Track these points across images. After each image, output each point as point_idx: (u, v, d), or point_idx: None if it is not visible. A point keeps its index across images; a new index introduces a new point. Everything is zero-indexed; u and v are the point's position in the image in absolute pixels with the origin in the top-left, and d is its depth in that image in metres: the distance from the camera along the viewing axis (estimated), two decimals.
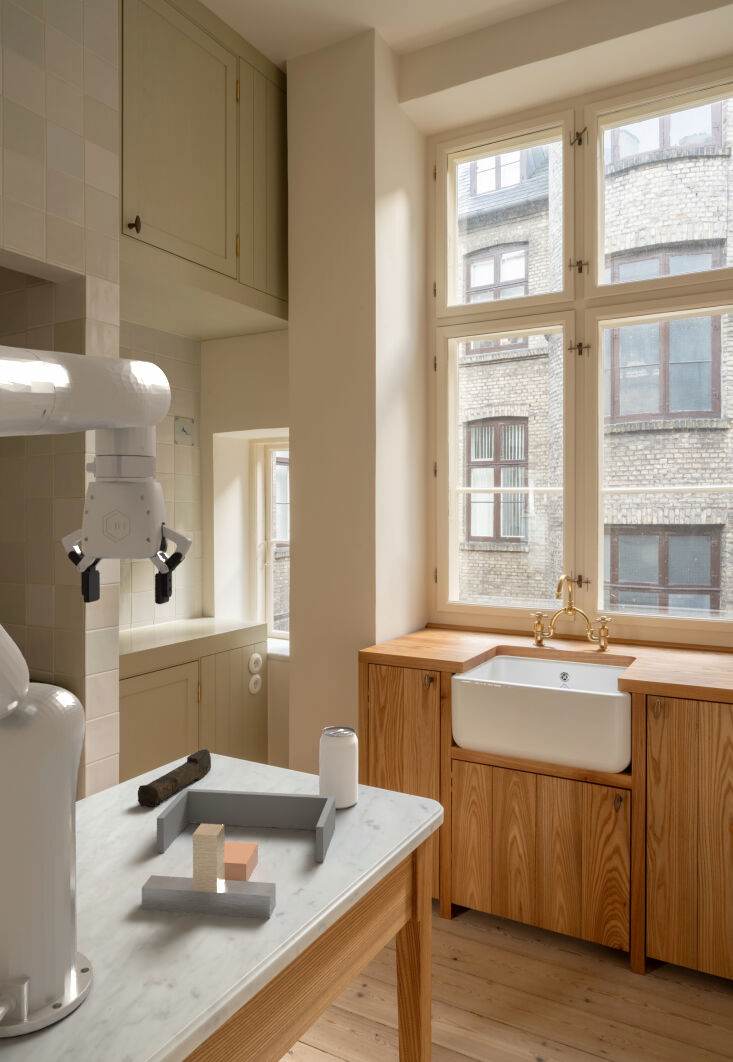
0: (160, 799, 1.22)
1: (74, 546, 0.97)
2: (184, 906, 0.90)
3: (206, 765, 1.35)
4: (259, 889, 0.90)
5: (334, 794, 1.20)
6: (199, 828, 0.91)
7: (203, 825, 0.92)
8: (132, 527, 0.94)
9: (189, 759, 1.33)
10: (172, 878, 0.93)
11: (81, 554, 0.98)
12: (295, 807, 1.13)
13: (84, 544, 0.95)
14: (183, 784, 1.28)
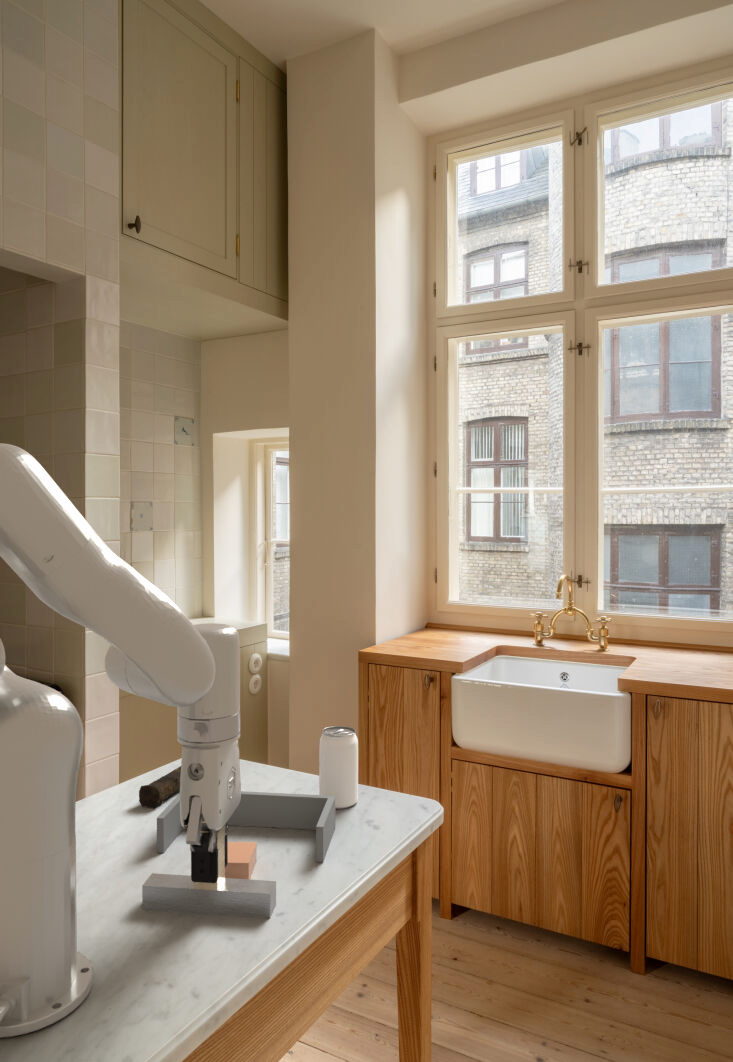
0: (161, 799, 1.22)
1: (199, 833, 0.86)
2: (185, 904, 0.90)
3: None
4: (259, 887, 0.90)
5: (334, 794, 1.20)
6: None
7: None
8: (236, 778, 0.92)
9: None
10: (173, 876, 0.93)
11: None
12: (295, 807, 1.13)
13: (219, 818, 0.86)
14: None
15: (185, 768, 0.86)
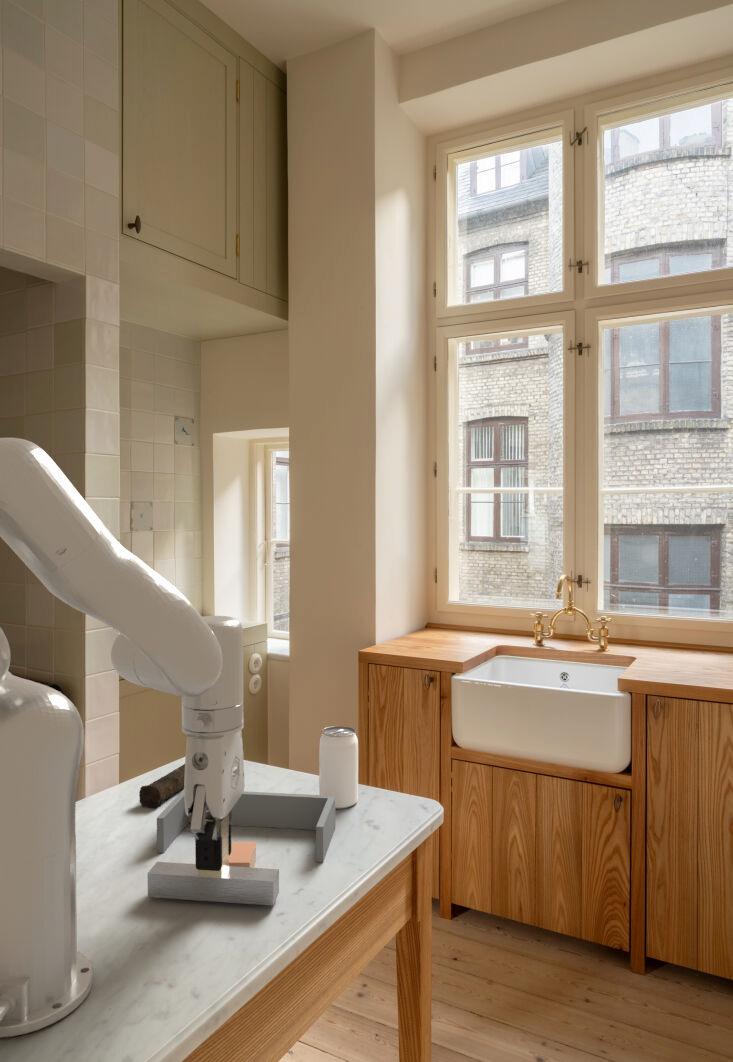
0: (162, 799, 1.22)
1: None
2: (189, 891, 0.91)
3: None
4: (263, 875, 0.92)
5: (334, 794, 1.20)
6: None
7: None
8: (239, 768, 0.94)
9: None
10: (177, 864, 0.94)
11: None
12: (295, 807, 1.13)
13: (222, 807, 0.87)
14: None
15: (189, 757, 0.88)
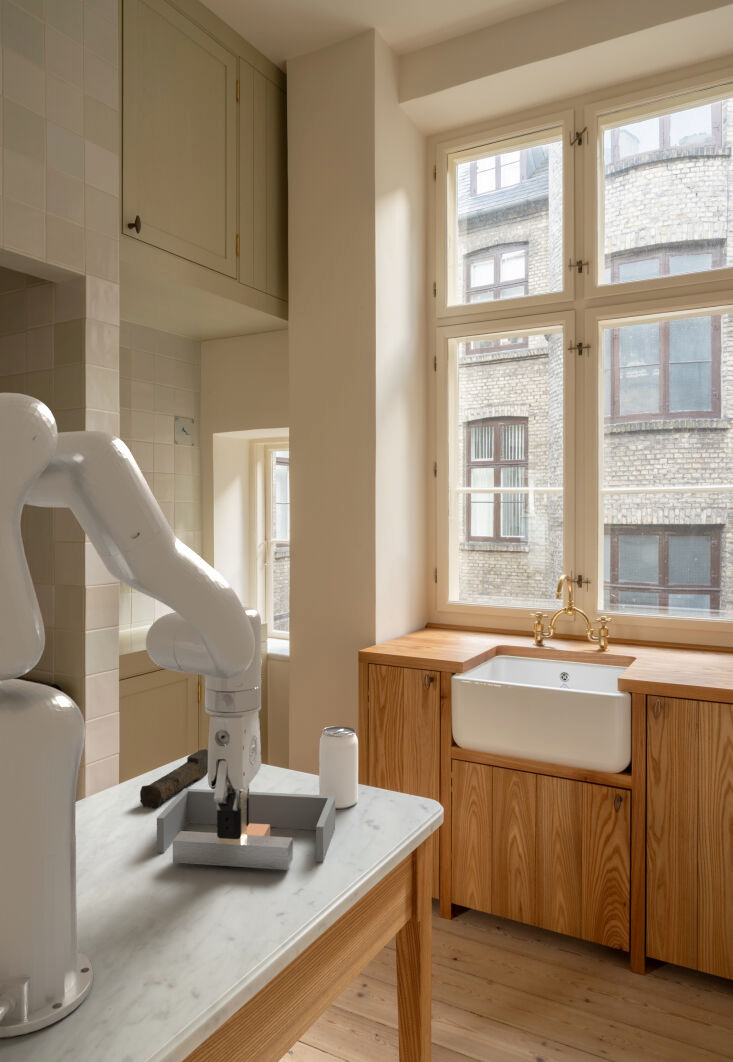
0: (163, 799, 1.22)
1: (225, 793, 0.96)
2: (211, 857, 1.00)
3: (206, 765, 1.35)
4: (278, 842, 1.00)
5: (334, 794, 1.20)
6: None
7: None
8: (257, 746, 1.02)
9: (189, 759, 1.33)
10: (199, 833, 1.03)
11: None
12: (295, 807, 1.13)
13: (243, 780, 0.96)
14: (184, 784, 1.28)
15: (213, 735, 0.96)
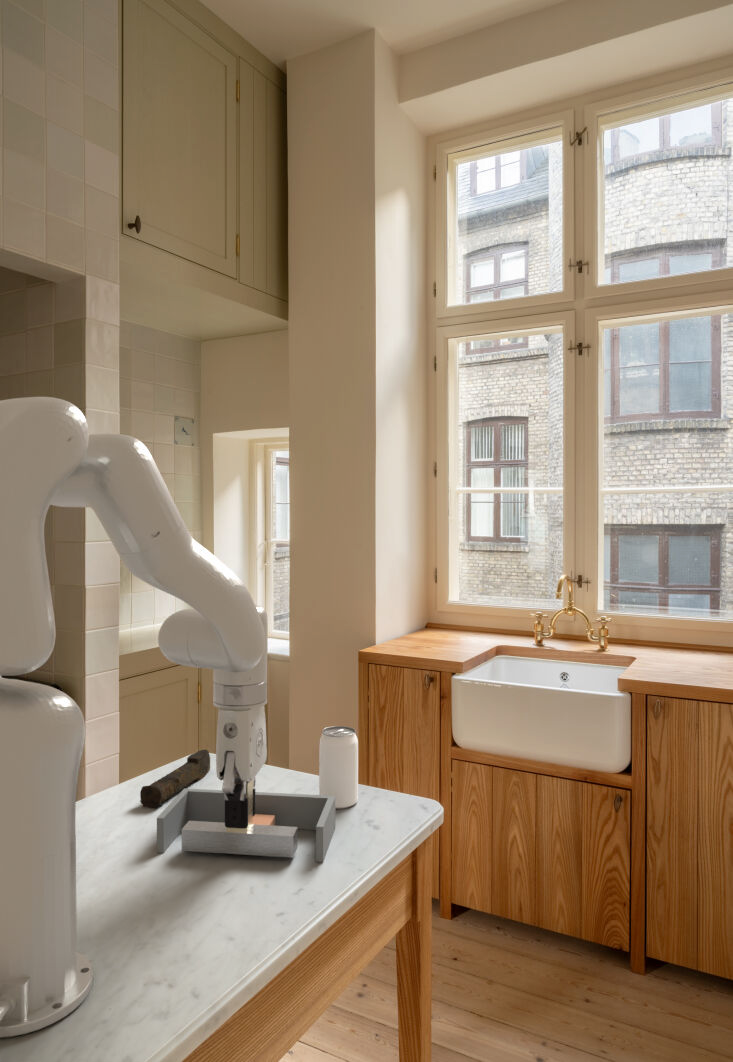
0: (163, 799, 1.22)
1: None
2: (218, 845, 1.04)
3: (206, 765, 1.35)
4: (283, 831, 1.04)
5: (334, 794, 1.20)
6: None
7: None
8: (263, 739, 1.06)
9: (189, 759, 1.33)
10: (207, 822, 1.06)
11: None
12: (295, 807, 1.13)
13: (250, 771, 1.00)
14: (184, 784, 1.28)
15: (221, 727, 1.00)
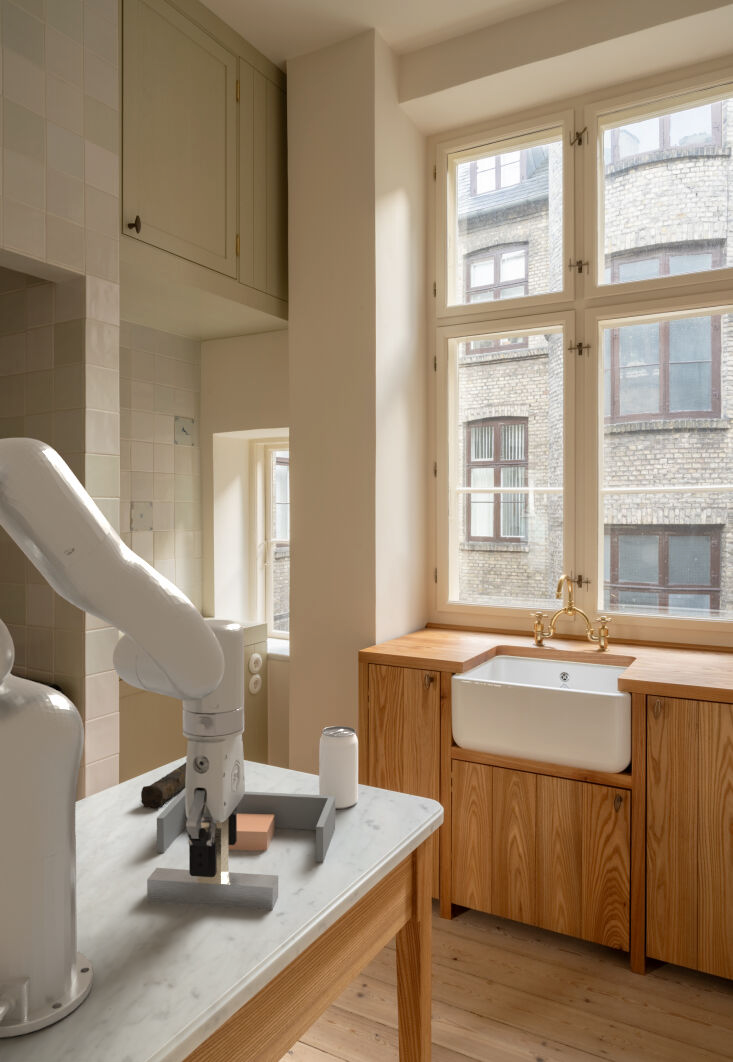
0: (164, 799, 1.21)
1: None
2: (189, 898, 0.92)
3: None
4: (262, 881, 0.92)
5: (334, 794, 1.20)
6: None
7: None
8: (240, 772, 0.94)
9: None
10: (177, 870, 0.95)
11: None
12: (295, 807, 1.13)
13: (223, 810, 0.88)
14: None
15: (190, 761, 0.88)
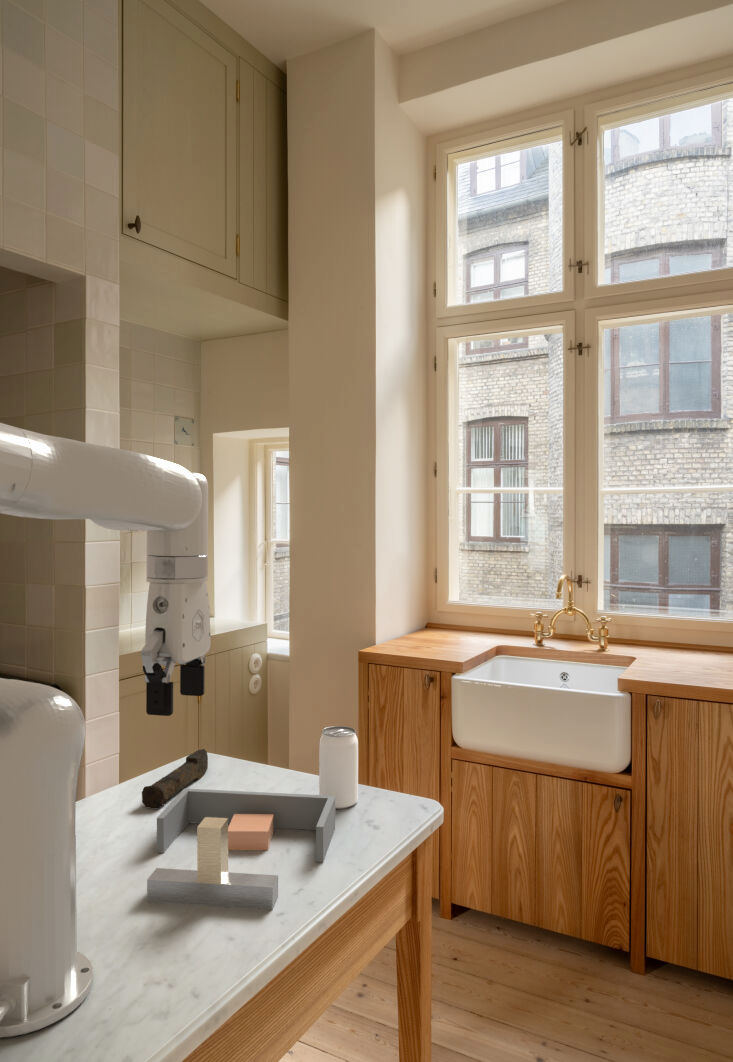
0: (165, 799, 1.21)
1: None
2: (189, 898, 0.92)
3: (204, 765, 1.35)
4: (262, 881, 0.92)
5: (334, 794, 1.20)
6: (203, 821, 0.93)
7: (207, 818, 0.94)
8: (204, 624, 0.95)
9: (188, 759, 1.33)
10: (177, 870, 0.95)
11: None
12: (295, 807, 1.13)
13: (182, 651, 0.89)
14: (185, 784, 1.28)
15: (151, 602, 0.89)
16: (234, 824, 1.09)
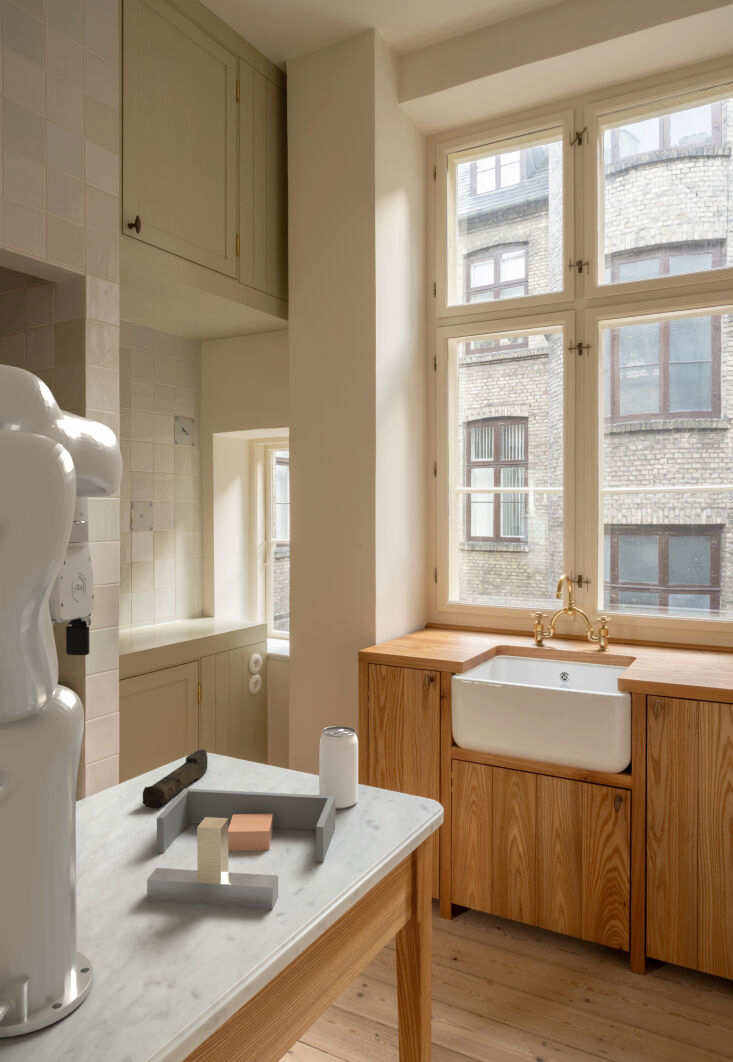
0: (166, 800, 1.21)
1: None
2: (189, 898, 0.92)
3: (204, 765, 1.35)
4: (262, 881, 0.92)
5: (334, 794, 1.20)
6: (203, 821, 0.93)
7: (207, 818, 0.94)
8: (86, 587, 1.01)
9: (188, 759, 1.33)
10: (177, 870, 0.95)
11: None
12: (295, 807, 1.13)
13: (60, 610, 0.95)
14: (185, 784, 1.28)
15: None
16: (234, 824, 1.09)
